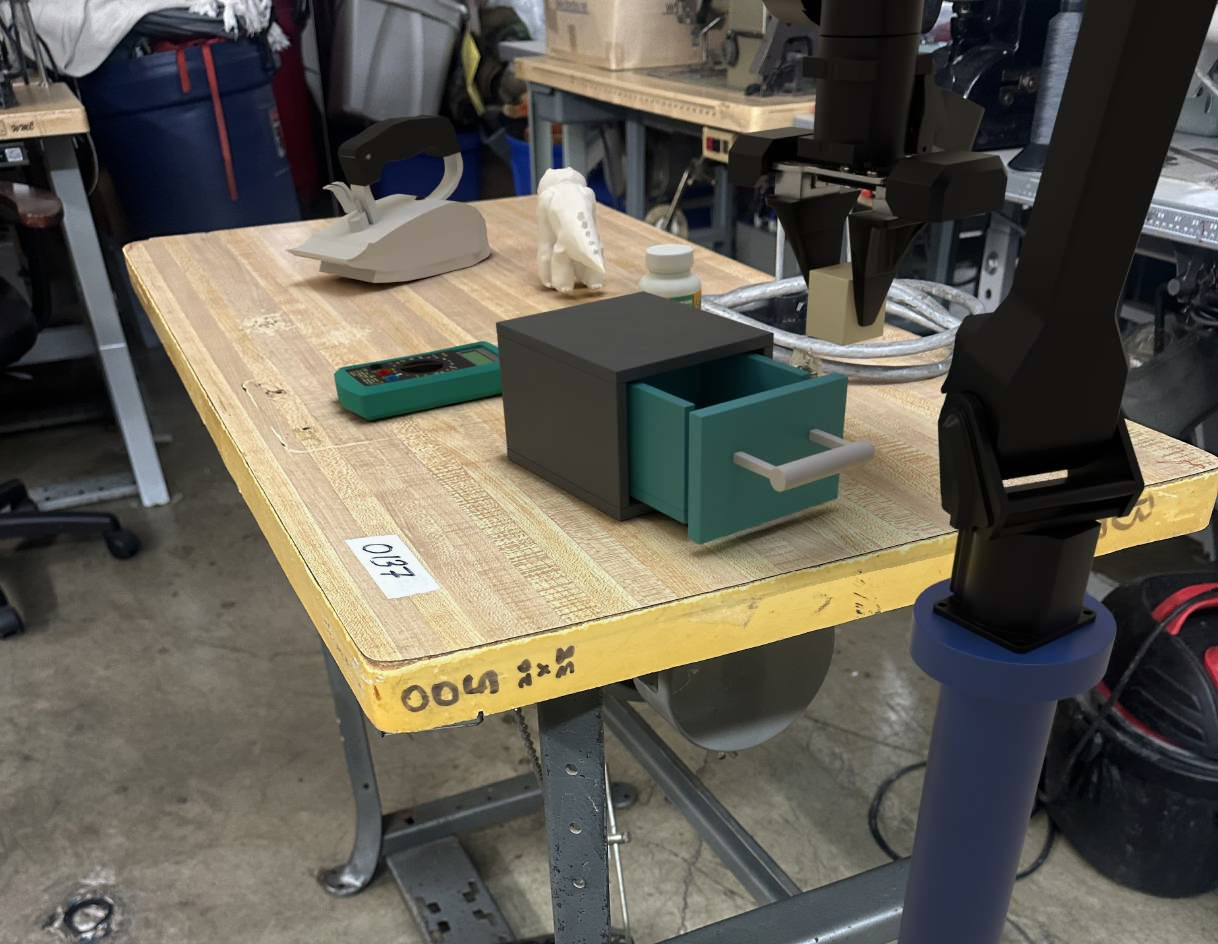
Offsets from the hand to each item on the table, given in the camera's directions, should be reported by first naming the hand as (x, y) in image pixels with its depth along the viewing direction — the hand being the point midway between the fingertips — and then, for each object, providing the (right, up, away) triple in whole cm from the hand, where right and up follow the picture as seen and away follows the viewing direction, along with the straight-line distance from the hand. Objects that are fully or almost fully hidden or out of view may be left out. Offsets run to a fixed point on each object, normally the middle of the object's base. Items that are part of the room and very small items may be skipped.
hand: (845, 319), depth 76 cm
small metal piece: (0, +3, +21) cm, 21 cm away
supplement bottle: (-10, +7, +26) cm, 29 cm away
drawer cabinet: (-14, -7, +8) cm, 17 cm away
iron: (-39, +31, +59) cm, 77 cm away
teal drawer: (-8, -12, 0) cm, 14 cm away
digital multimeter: (-31, +3, +22) cm, 38 cm away
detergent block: (0, -1, +1) cm, 1 cm away
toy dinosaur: (-19, +23, +47) cm, 56 cm away
